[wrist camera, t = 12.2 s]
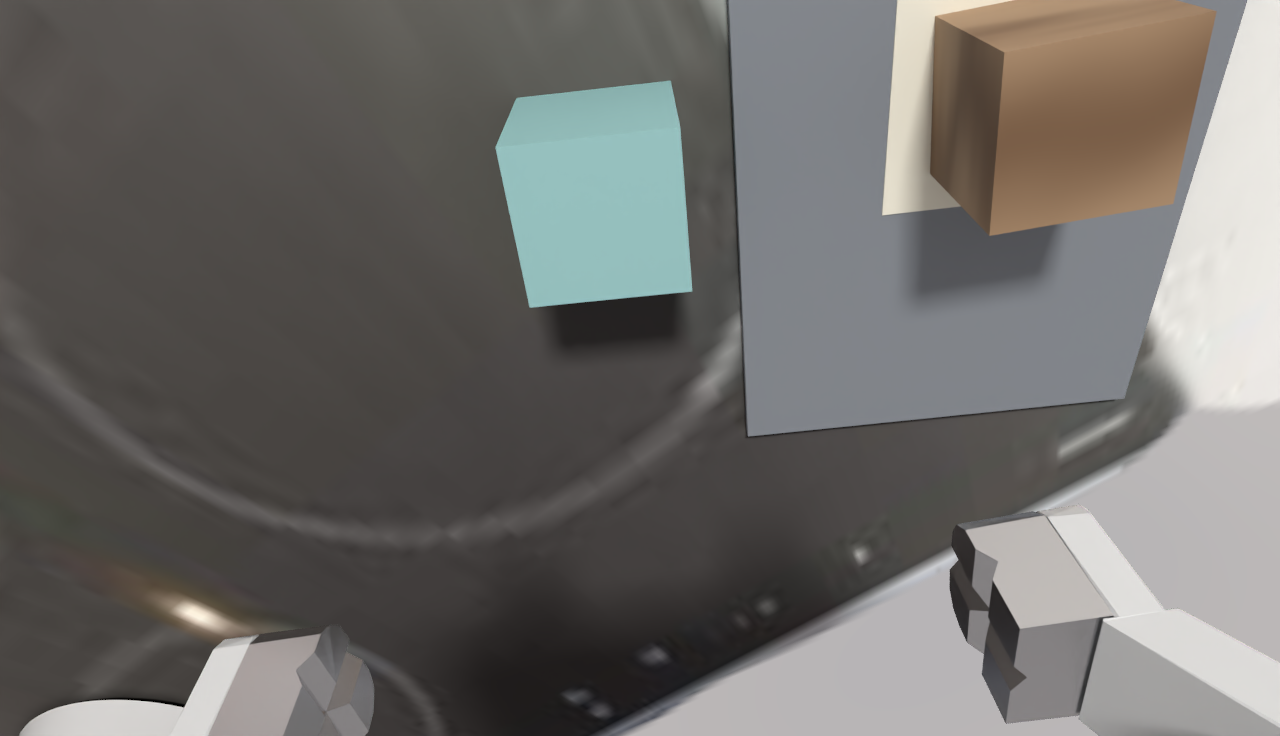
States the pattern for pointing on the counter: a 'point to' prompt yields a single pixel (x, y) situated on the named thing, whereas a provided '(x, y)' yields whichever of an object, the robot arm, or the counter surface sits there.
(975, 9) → the walnut block
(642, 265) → the teal block
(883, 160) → the mat
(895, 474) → the counter surface
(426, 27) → the counter surface
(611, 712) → the counter surface
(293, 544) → the counter surface
